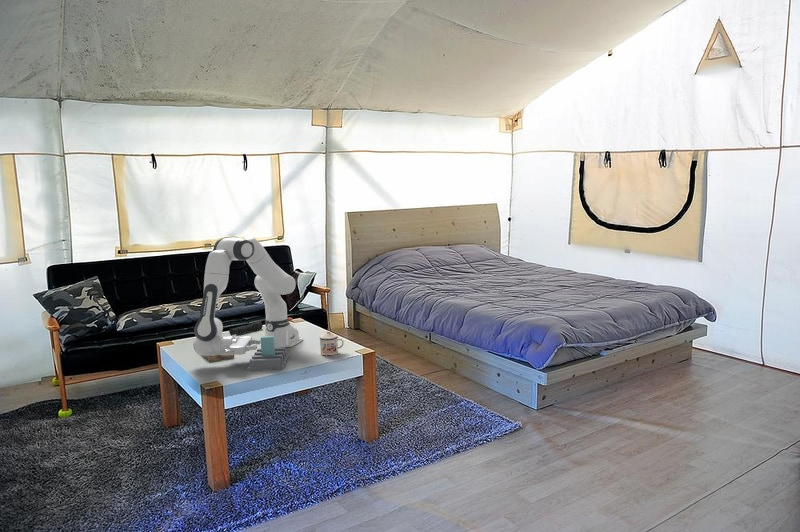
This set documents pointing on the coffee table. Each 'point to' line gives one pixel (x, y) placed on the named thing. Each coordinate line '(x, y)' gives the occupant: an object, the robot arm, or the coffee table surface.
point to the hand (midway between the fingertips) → (258, 344)
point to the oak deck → (218, 357)
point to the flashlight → (246, 328)
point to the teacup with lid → (329, 344)
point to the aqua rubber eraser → (267, 345)
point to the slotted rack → (268, 360)
